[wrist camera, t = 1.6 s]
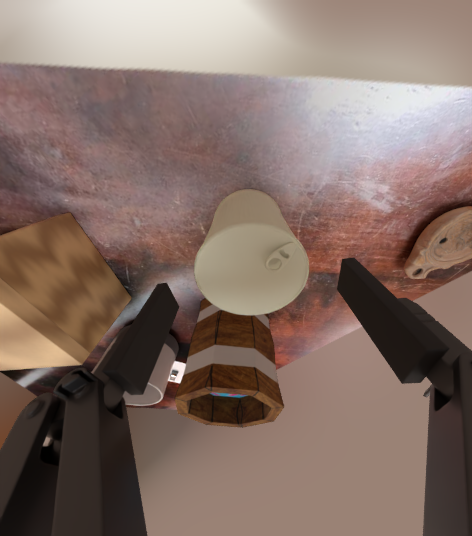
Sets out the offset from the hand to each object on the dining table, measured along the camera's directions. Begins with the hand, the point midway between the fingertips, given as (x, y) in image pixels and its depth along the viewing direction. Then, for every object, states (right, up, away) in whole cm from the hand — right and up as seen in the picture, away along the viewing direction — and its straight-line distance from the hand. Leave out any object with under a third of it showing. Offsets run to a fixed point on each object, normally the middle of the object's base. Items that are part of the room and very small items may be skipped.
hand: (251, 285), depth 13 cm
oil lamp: (+26, +6, +10) cm, 28 cm away
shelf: (-31, +1, +15) cm, 34 cm away
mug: (-1, -10, +22) cm, 24 cm away
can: (0, +7, +10) cm, 12 cm away
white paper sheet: (-18, -27, +34) cm, 48 cm away
